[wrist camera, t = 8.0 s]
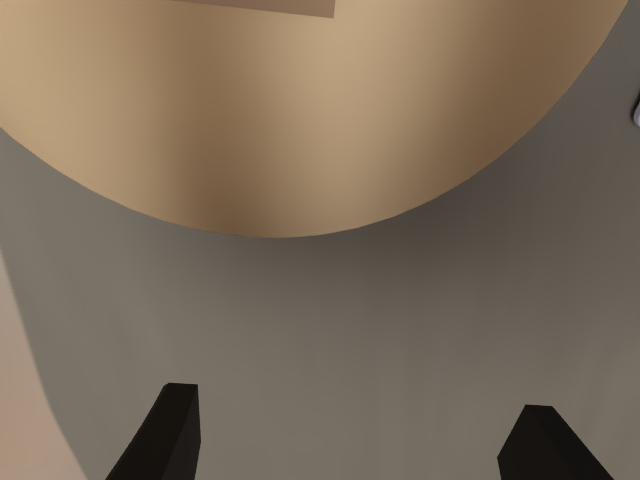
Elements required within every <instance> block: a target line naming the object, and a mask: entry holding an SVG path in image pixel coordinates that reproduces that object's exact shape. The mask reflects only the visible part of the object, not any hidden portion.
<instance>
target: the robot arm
mask: <svg viewBox="0 0 640 480" xmlns="http://www.w3.org/2000/svg"><path fill="white" fill-rule="evenodd" d="M633 118H634V122H635V123H636V125H638V126H639V127H640V103H639V105H638V107H637V109H636V111H635V114H634V117H633ZM200 444H201V435H200V417H199V399H198V385H197V384H181V383H168V384H166V385H164V386H163V388H162V390H161V392H160V394H159V396H158V398H157V400H156V401H155V403H154V405H153V407H152V408H151V410H150V412H149V413H148V415H147V417H146V418H145V420H144V422H143V423H142V425H141V427H140V428H139V430H138V431H137V433H136V435H135V436H134V438H133V439H132V441H131V442H130V444H129V445H128V447H127V448H126V450H125V451H124V453H123V454H122V456H121V457H120V459H119V460H118V462H117V463H116V465H115V466H114V467H113V469H112V470H111V472H110V473H109V475H108V476H107V478H106V479H105V480H194V479H195V473H196V468H197V462H198V456H199V450H200ZM497 459H498V464H499V470H500V475H501V480H614V479H613V478H612V477H611V476H610V475H609V473H608V472H607V471H606V470H605V469H604V467H603V466H602V465H601V464H600V463H599V461H598V460H597V459H596V458H595V457H594V456H593V454H592V453H591V452H590V451H589V450H588V448H587V447H586V446H585V445H584V444H583V442H582V441H581V440H580V439H579V438H578V436H577V435H576V434H575V433H574V432H573V430H572V429H571V428H570V427H569V426H568V424H567V423H566V422H565V421H564V420H563V418H562V417H561V416H560V415H559V414H558V412H557V411H556V410H555V409H554V408H553V407H552V406H541V405H525V407H524V408H523V410H522V412H521V414H520V416H519V418H518V420H517V422H516V423H515V425H514V427H513V429H512V431H511V433H510V435H509V436H508V438H507V440H506V442H505V444H504V446H503V448H502V449H501V451H500V453H499V455H498V457H497Z"/></svg>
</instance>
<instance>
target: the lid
mask: <svg viewBox="0 0 640 480" xmlns="http://www.w3.org/2000/svg"><path fill="white" fill-rule="evenodd" d="M628 1H629V0H0V127H1V128H2V129H3V130H4V131H6V132H7V133H8V134H9V135H10V136H11V137H12V138H14V139H15V140H16V141H18V142H19V143H20V144H22V145H23V146H24V147H26V148H27V149H28V150H30V151H31V152H33V153H34V154H35V155H37V156H38V157H39V158H41V159H42V160H44V161H45V162H46V163H48V164H49V165H50V166H52V167H53V168H55V169H56V170H58V171H60V172H62V173H63V174H65V175H67V176H68V177H70V178H72V179H73V180H75V181H77V182H78V183H80V184H82V185H83V186H85V187H87V188H88V189H90V190H92V191H94V192H96V193H98V194H100V195H102V196H104V197H106V198H109V199H111V200H113V201H115V202H117V203H119V204H121V205H123V206H126V207H128V208H130V209H132V210H135V211H138V212H141V213H144V214H146V215H149V216H152V217H155V218H158V219H160V220H163V221H166V222H169V223H173V224H177V225H181V226H185V227H189V228H193V229H197V230H202V231H206V232H212V233H219V234H227V235H234V236H241V237H262V238H290V237H303V236H315V235H323V234H329V233H334V232H339V231H344V230H349V229H354V228H359V227H362V226H365V225H369V224H372V223H375V222H378V221H381V220H385V219H388V218H391V217H394V216H397V215H399V214H401V213H404V212H406V211H408V210H411V209H413V208H415V207H417V206H420V205H422V204H424V203H427V202H429V201H431V200H433V199H435V198H436V197H438V196H440V195H442V194H443V193H445V192H447V191H449V190H450V189H452V188H454V187H456V186H458V185H459V184H461V183H463V182H465V181H466V180H468V179H469V178H471V177H472V176H473V175H475V174H476V173H478V172H479V171H480V170H482V169H483V168H484V167H486V166H487V165H489V164H490V163H491V162H493V161H494V160H496V159H497V158H498V157H500V156H501V155H502V154H504V153H505V152H506V151H507V150H508V149H509V148H510V147H511V146H513V145H514V144H515V143H516V142H517V141H518V140H519V139H520V138H522V137H523V136H524V135H525V134H526V133H527V132H528V131H529V130H531V129H532V128H533V127H534V126H535V125H536V124H537V123H538V122H539V121H540V120H541V119H542V118H543V117H544V115H545V114H546V113H547V112H548V111H549V110H550V109H551V108H552V107H553V106H554V105H555V103H556V102H557V101H558V100H559V99H560V98H561V97H562V96H563V95H564V94H565V92H566V91H567V90H568V89H569V88H570V87H571V86H572V84H573V83H574V82H575V80H576V79H577V78H578V76H579V75H580V74H581V72H582V71H583V70H584V68H585V67H586V66H587V64H588V63H589V61H590V60H591V59H592V57H593V56H594V55H595V53H596V52H597V51H598V49H599V48H600V47H601V45H602V44H603V42H604V41H605V39H606V37H607V36H608V34H609V32H610V31H611V29H612V27H613V26H614V24H615V23H616V21H617V19H618V18H619V16H620V14H621V13H622V11H623V9H624V8H625V6H626V4H627V3H628Z"/></svg>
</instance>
